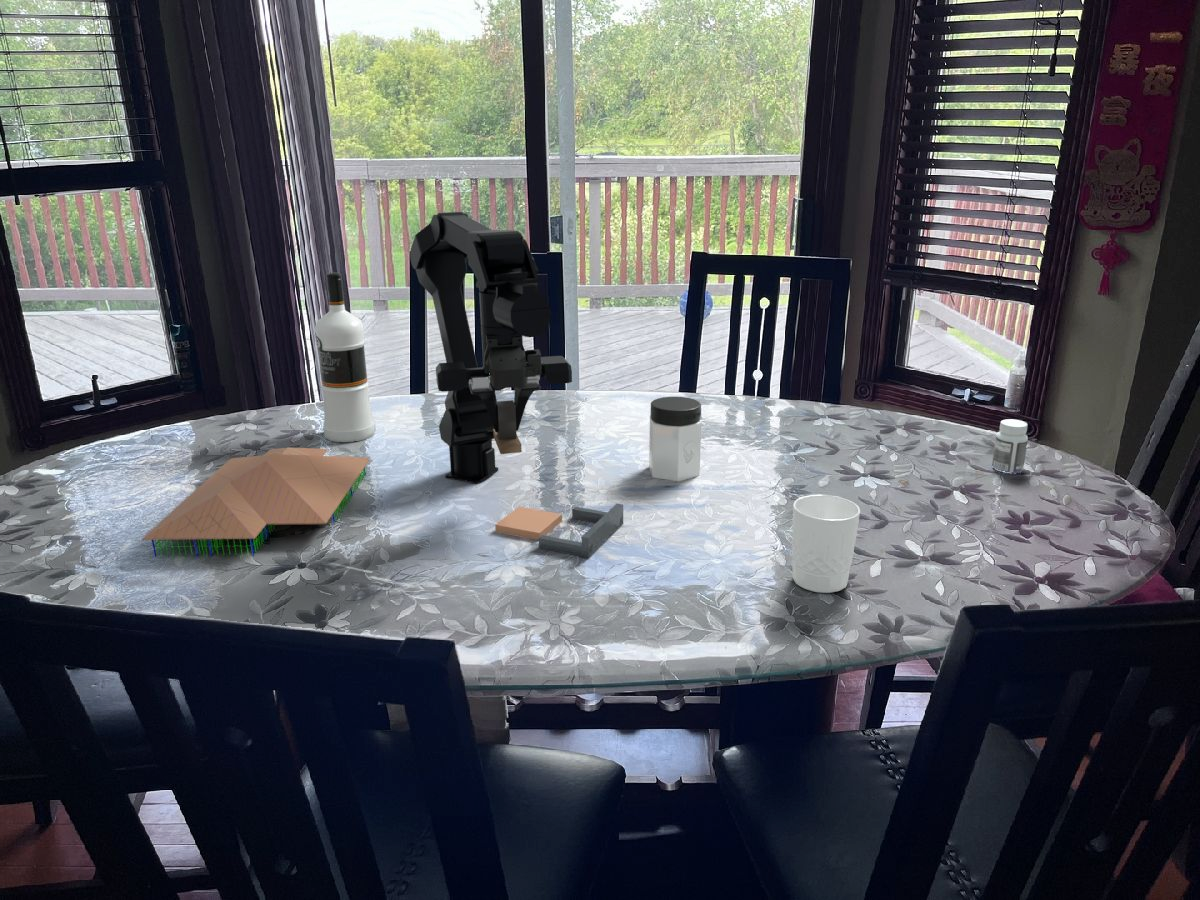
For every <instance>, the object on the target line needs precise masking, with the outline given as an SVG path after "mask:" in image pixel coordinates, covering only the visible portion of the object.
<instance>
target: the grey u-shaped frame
mask: <svg viewBox="0 0 1200 900" xmlns="http://www.w3.org/2000/svg"><path fill="white" fill-rule="evenodd" d="M571 514H572V515H571V518H572V520H578V521H584V522H588V523H589V522H590V523H594V524H593V525H592V526H591V527H590V528H588V530H586V532H585V533H584V534H582V536H581V541H576V540H570V539H565V538H561V537H554V536H549V535H546V536H545V535H541V536H540V537H539V540H538V549H543V550H548V551H552V552H556V553H557V552H558V553H563V554H568V555H573V556H578V557H581V558H582V559H583V558H584V559H588V560H589V559H590V558H591V557H592V556H593V555H594V554H595V553H596V552H597V551H598V550H599V549H600V548H601V547H602V546H603V545H604V544H605V543H606V542H607V541H608V540H610V538H611V537H612V536H613V535H614V534H615V533H616V532H617V531H618V530H619V529H620V528H621V527H622V526H623V525H624V504H623V503H615V505H613V506H612V507H611V508H610V509H609V510H608V511H603V510H599V509H598V510H596V509H590V508H585V507H580V506H574V507H573V508H572V509H571Z"/></svg>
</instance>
